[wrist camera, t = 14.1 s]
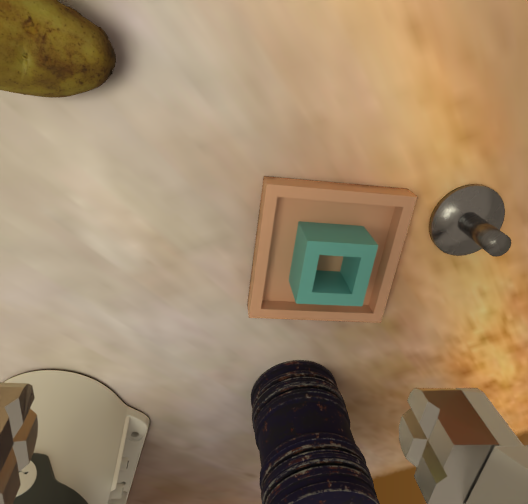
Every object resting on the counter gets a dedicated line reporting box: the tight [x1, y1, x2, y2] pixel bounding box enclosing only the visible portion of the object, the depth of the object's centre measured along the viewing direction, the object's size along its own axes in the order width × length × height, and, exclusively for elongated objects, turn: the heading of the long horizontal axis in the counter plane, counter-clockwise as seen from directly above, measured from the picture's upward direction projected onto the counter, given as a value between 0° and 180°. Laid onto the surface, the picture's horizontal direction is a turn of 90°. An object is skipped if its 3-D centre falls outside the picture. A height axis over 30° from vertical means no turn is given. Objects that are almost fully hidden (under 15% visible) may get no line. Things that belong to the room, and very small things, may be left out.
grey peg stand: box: [429, 184, 511, 256], centre depth 39 cm, size 7×7×6 cm
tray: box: [247, 176, 417, 323], centre depth 41 cm, size 13×13×2 cm
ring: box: [289, 221, 378, 306], centre depth 39 cm, size 6×6×4 cm
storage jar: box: [251, 360, 379, 504], centre depth 43 cm, size 10×10×15 cm
